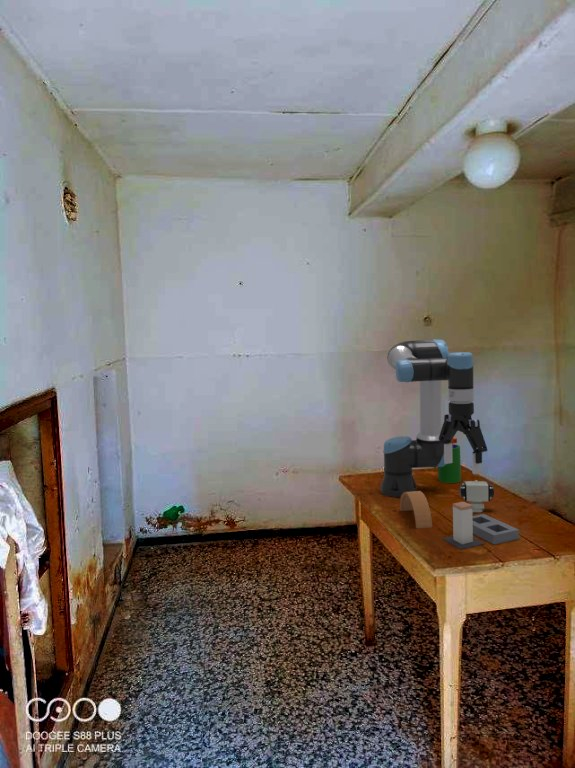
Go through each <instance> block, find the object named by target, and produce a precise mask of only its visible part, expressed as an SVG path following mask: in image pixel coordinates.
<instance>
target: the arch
mask: <svg viewBox="0 0 575 768" xmlns="http://www.w3.org/2000/svg"><path fill="white" fill-rule="evenodd" d="M399 511H401V512H405V511H413V515H414V521H415V528H416V529H426V528H433V521H432V520H433V519H432V512H431V509H430V506H429V502H428V499H427V497H426V496H425V494H424V493H423V492H422V491H421V490H417V491H412V492H403V493H402V495H401V497H400V500H399Z"/></svg>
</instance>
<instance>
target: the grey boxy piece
mask: <svg viewBox="0 0 575 768" xmlns="http://www.w3.org/2000/svg"><path fill="white" fill-rule="evenodd" d="M472 516H473V536H476V537H478V538H480V539H482V540H484V541H486V542H488V543H490V544H492V545H500V544H503V543H507V542H511V541H516V540H519V539H520V529H518V528H516V527H514V526H511V525H509V524H507V523H505V522H503V521H500V520H498V519H496V518H494V517H492V516H489V515H487V514H485V513H481V514H477V515H472Z"/></svg>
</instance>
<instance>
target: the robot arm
mask: <svg viewBox="0 0 575 768" xmlns="http://www.w3.org/2000/svg"><path fill="white" fill-rule="evenodd" d="M386 357H387V362H388V364H389V366H390V367H391V368H392V369H395V377H396V380H397V382H399V383H400V382H401V383H410V382H412V383H414V382H419V432H418V433H417V434H416V436H415V437H416V439H415V440H412V438H411V436H407V435H406V436H394V437H391V438H388V439H386V440H385V441H384V443H383V451H382V452H383V469H384V471H383V472H384V473H383V478H382V481H381V485H380V493H381V494H383V495H384V496H387V497H393V498H401V495H402V493H403V492H412V491H418V487H417V484H416V481H415V478H414V476H413V469H414V468H415V469H417V468H418V469H419V468H422V469H423V468H434V469H436V468H438V467H443V466H445V465H446V464H449V463H453V458H452V443H451V440H452V439H453V437H454V438H455V436H456V434H457V433H458V432H461V433H462V434H464V435H465V437H466V439H467V440H468V442H469V445H470V447H471V448H472V450H473V451H472V452H471V464H472V465H471V466H472V467H471V470H472V471H471V473H472V474H473V475H476V474H481V473H482V463H483V453H484V452H485V453H486V452H488V446H487V444H486V441H485V438H484V435H483V432H482V429H481V423H480V420H479V419H473V418H472V416H473V415H474V413H475V403H474V400H475V389H474V365H475V363H474V355H473V353H472V352H469V351H467V352H464V351H463V352H462V351H461V352H460V351H458V352H450V351H449V348H448V345H447V343H446V341H445V340H443V339H433V338H431V339H419V340H417V339H416V340H405V341H402V342H398V343H396V344H395V345H394V346H392V347H391V348H390V349H389V350H388V353H387V356H386ZM442 381H447V383H448V401H449V402H448V413H447V414H445V415H444V417H443V423H442Z"/></svg>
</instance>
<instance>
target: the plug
mask: <svg viewBox="0 0 575 768" xmlns="http://www.w3.org/2000/svg"><path fill="white" fill-rule="evenodd" d="M470 504H471V503H469V502H467V501H460V502H459V501H458V502H456V503H452V525H453V526H452V527H453V528H452V530H453V531H452V532H453V535H452V536H453V540H455V541H457V542H459V543H461V544H466V543H470V542H473V538H474V534H473V516H474V515H473V512H472V505H470Z"/></svg>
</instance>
